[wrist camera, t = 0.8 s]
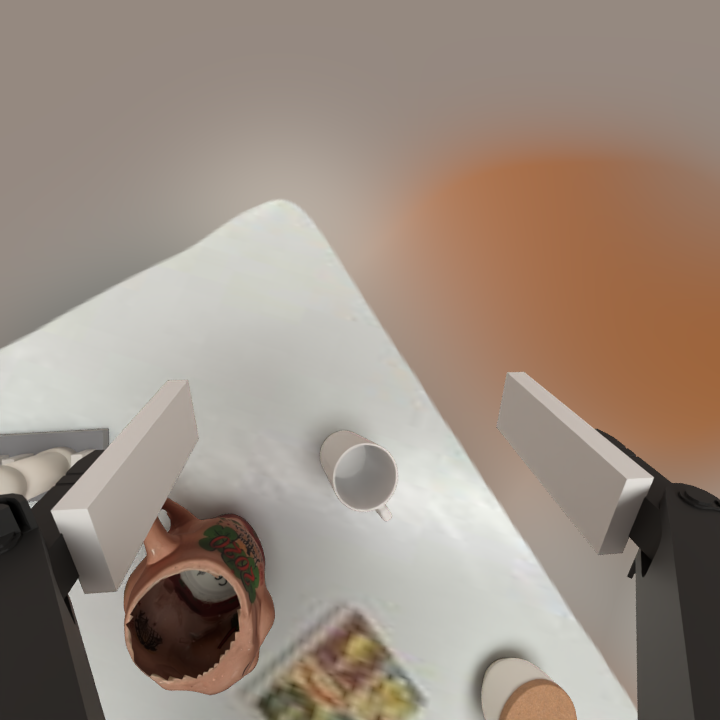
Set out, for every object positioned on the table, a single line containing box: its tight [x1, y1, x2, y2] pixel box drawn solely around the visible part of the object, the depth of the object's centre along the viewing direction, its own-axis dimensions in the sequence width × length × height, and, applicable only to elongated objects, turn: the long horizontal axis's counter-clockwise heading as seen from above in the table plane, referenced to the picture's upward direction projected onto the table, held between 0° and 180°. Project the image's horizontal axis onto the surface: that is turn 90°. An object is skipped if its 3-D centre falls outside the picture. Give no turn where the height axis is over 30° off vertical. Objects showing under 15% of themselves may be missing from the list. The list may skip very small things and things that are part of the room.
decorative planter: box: [124, 498, 275, 695], centre depth 37 cm, size 20×12×14 cm, turn 35°
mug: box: [320, 431, 398, 521], centre depth 42 cm, size 10×7×12 cm, turn 30°
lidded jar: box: [481, 658, 577, 720], centre depth 46 cm, size 11×11×9 cm
